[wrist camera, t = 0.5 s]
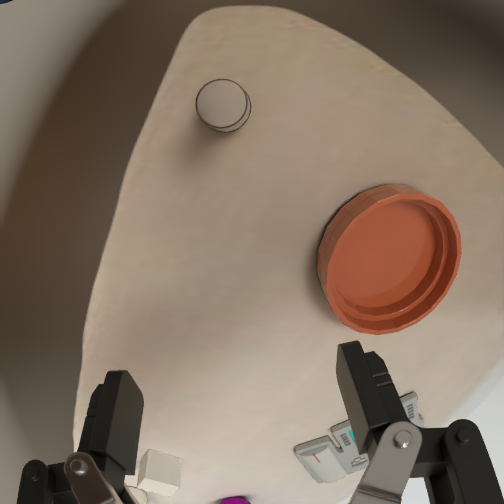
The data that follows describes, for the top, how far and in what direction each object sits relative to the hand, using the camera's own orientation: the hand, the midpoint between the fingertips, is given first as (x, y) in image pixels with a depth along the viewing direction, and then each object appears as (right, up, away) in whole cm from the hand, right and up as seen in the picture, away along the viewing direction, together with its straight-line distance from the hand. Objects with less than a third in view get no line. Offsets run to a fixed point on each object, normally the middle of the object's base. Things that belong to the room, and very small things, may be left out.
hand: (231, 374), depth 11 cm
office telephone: (+21, -29, +37) cm, 51 cm away
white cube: (-15, -32, +36) cm, 50 cm away
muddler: (-1, +17, +14) cm, 22 cm away
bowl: (+15, +4, +21) cm, 26 cm away
